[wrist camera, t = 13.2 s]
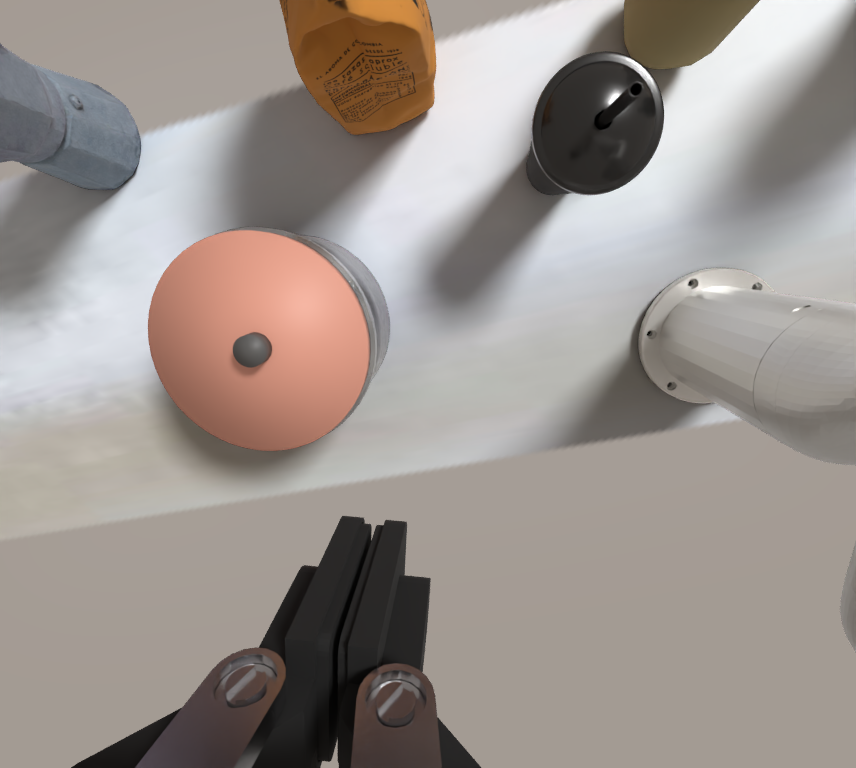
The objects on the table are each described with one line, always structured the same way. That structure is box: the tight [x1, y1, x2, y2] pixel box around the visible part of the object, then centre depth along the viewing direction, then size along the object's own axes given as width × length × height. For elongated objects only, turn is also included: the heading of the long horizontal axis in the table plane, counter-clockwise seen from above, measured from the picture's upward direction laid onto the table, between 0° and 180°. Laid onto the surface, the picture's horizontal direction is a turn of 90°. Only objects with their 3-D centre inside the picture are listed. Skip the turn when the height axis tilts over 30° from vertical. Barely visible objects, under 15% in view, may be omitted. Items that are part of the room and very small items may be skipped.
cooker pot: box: [215, 227, 390, 434], centre depth 41 cm, size 18×18×10 cm
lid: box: [148, 230, 370, 451], centre depth 35 cm, size 17×17×3 cm
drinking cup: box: [527, 52, 664, 195], centre depth 31 cm, size 8×8×20 cm
